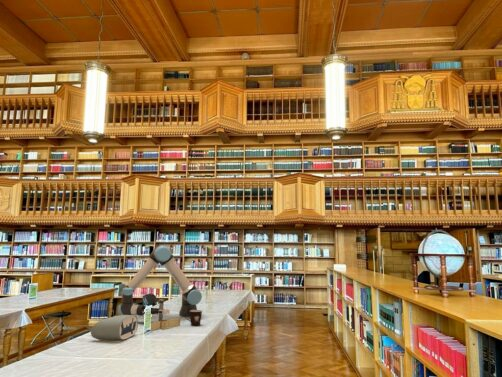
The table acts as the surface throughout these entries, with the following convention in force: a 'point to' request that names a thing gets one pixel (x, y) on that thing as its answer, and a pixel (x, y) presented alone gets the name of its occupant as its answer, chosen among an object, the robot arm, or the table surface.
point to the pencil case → (115, 328)
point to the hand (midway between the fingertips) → (168, 311)
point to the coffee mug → (195, 317)
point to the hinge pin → (161, 308)
